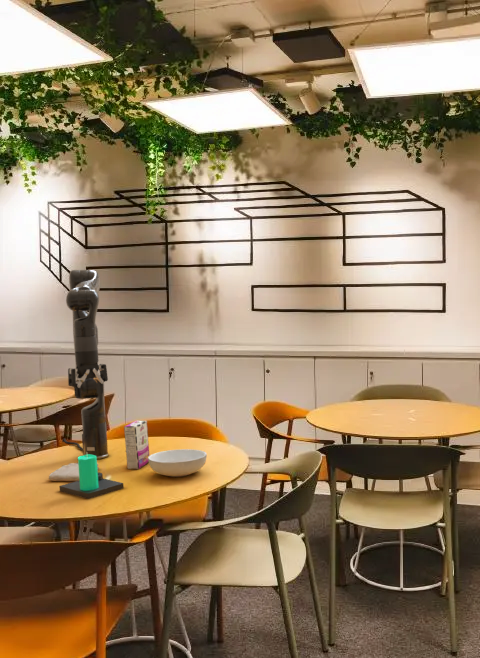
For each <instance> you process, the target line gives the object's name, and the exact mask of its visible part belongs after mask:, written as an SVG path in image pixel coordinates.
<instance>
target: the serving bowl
mask: <svg viewBox="0 0 480 658" xmlns="http://www.w3.org/2000/svg"><path fill="white" fill-rule="evenodd" d="M148 461H149V463H148V464H149V466H150V467H149V468H151V470H152V471H153V472H155V473H156V474H158V475H162V476H166V477H171V478H180V477H185V476H189V475H191V474H194V473H196V472H198V471H200V470H201V469H202V468H203V467H204V466H205V464H206V461H207V452H206V451H205V450H202V449H201V450H200V449H192V448H181V449H169V450H162V451H157V452H155V453H152V454H149V457H148Z"/></svg>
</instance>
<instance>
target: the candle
mask: <svg viewBox="0 0 480 658" xmlns="http://www.w3.org/2000/svg"><path fill="white" fill-rule="evenodd" d="M77 463H78V466H79V480H80V490H84V491H88V490H94V489H97V488H99V484H98V470H99V469H98V470H97V464H98V459H97V457H96V456H95V455H91V454H87V455H83V454H82V455H79V456H77Z"/></svg>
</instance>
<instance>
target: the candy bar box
mask: <svg viewBox="0 0 480 658" xmlns="http://www.w3.org/2000/svg"><path fill="white" fill-rule="evenodd" d="M123 433H124V445H125V455H126V457H125V458H126V468H127V470H140V469H141V468H143V467H144V466H146V465H147V464H149V461H148V457H149V456H150V444H149V432H148V420H134V421H132V422H131V423H129V424H126V425H124V427H123Z"/></svg>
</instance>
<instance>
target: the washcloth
mask: <svg viewBox="0 0 480 658" xmlns="http://www.w3.org/2000/svg"><path fill="white" fill-rule="evenodd" d="M97 470H100V467H99V463H97ZM48 480H49V481H51V482H76V481H79V466H78V462H71V463H70V462H69V463H68V464H65V465H62V466H60V468H57V469H55V470H54V471H53V472H51V473H49V475H48Z"/></svg>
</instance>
